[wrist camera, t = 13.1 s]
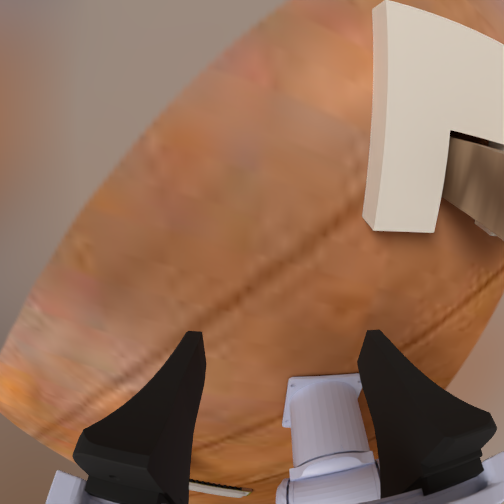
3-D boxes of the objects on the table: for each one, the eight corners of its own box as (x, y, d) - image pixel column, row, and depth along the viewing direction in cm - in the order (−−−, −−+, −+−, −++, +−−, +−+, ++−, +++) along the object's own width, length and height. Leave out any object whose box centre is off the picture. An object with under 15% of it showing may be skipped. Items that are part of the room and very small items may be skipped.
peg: (473, 196, 20) (546, 245, 12) (432, 191, 20) (507, 243, 12) (481, 144, 18) (563, 176, 10) (439, 134, 18) (525, 162, 10)
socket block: (507, 226, 21) (523, 237, 19) (362, 216, 21) (373, 230, 19) (526, 68, 14) (545, 69, 12) (371, 9, 14) (385, -1, 12)
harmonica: (172, 477, 45) (171, 486, 43) (175, 473, 43) (173, 482, 42) (247, 491, 47) (246, 499, 45) (252, 486, 45) (252, 495, 44)
